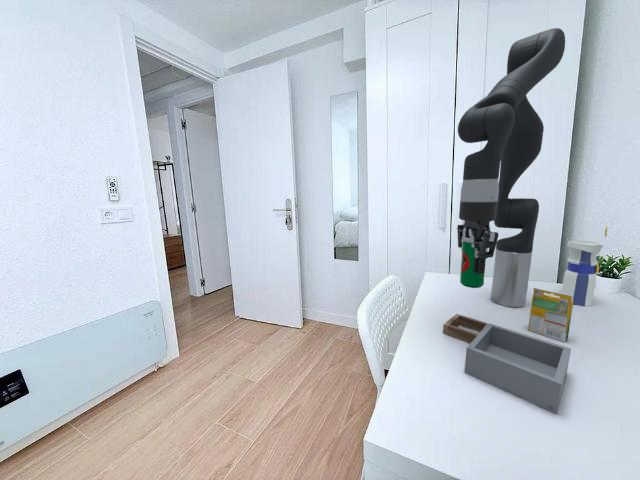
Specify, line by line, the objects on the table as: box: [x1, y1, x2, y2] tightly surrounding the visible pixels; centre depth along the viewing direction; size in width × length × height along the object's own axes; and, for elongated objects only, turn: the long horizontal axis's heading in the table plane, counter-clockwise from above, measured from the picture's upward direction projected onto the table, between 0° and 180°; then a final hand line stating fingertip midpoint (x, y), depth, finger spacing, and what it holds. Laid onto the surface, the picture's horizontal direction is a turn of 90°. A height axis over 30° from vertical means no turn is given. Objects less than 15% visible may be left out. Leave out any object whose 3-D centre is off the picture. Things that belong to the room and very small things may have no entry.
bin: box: [464, 323, 572, 415], centre depth 52 cm, size 14×14×6 cm
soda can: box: [459, 237, 486, 289], centre depth 64 cm, size 5×5×12 cm
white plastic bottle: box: [560, 225, 608, 307], centre depth 83 cm, size 8×9×25 cm
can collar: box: [442, 313, 489, 344], centre depth 67 cm, size 8×8×2 cm
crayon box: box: [527, 287, 574, 343], centre depth 65 cm, size 7×3×12 cm, turn 37°
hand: (472, 269), depth 64 cm, fingers closed on soda can, 5 cm apart
